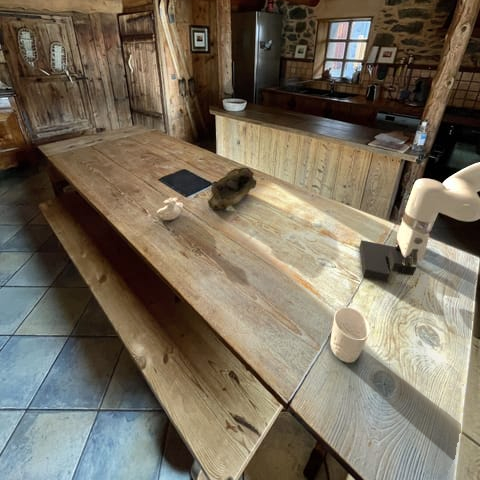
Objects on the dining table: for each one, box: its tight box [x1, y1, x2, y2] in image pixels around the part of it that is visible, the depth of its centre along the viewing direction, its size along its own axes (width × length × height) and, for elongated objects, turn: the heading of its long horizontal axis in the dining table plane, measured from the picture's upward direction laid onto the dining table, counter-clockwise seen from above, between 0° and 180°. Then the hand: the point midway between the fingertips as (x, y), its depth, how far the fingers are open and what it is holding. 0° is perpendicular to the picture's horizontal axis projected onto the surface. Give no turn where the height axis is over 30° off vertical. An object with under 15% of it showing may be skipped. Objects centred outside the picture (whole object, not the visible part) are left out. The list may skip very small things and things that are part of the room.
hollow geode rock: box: [207, 167, 258, 211], centre depth 124 cm, size 28×13×15 cm
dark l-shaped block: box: [359, 239, 397, 283], centre depth 90 cm, size 14×14×4 cm
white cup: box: [329, 306, 371, 364], centre depth 64 cm, size 8×8×10 cm
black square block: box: [388, 249, 417, 277], centre depth 84 cm, size 6×6×4 cm
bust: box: [155, 196, 184, 221], centre depth 110 cm, size 12×8×11 cm
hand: (400, 264), depth 85 cm, fingers closed on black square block, 6 cm apart
